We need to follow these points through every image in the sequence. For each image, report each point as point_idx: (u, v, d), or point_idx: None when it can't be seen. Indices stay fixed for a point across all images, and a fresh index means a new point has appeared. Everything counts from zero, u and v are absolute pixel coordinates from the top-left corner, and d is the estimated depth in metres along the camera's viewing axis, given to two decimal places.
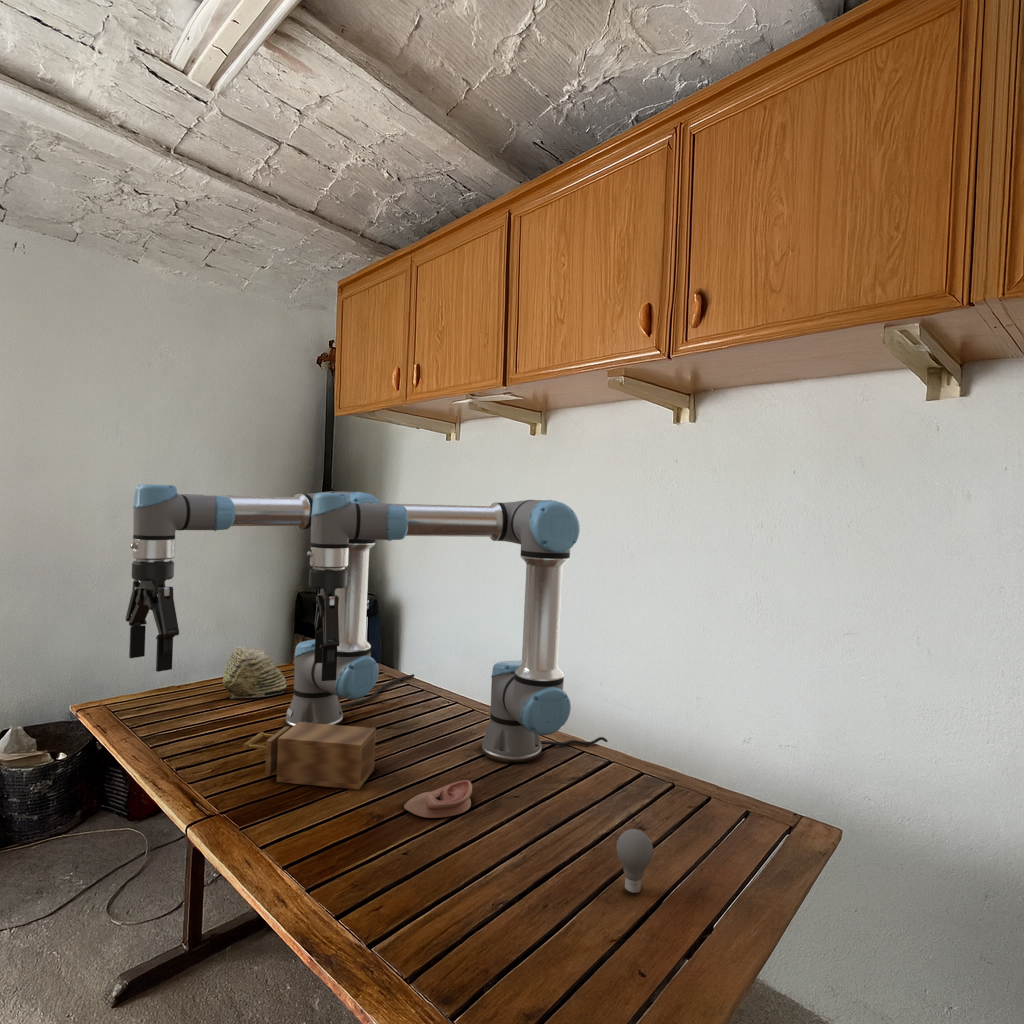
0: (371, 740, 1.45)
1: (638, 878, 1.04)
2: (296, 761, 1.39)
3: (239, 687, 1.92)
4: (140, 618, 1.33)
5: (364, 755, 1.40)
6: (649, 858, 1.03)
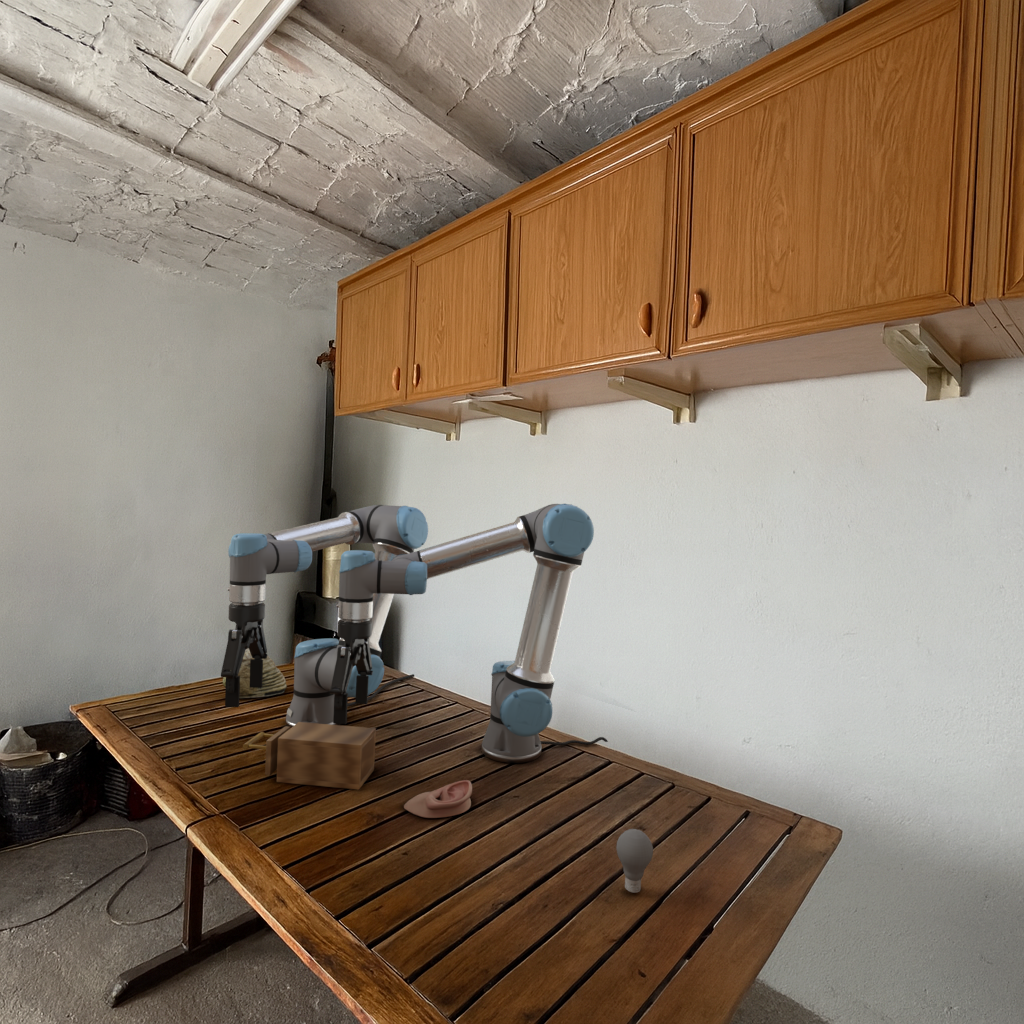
0: (371, 740, 1.45)
1: (638, 878, 1.04)
2: (296, 761, 1.39)
3: None
4: (256, 653, 1.48)
5: (364, 755, 1.40)
6: (649, 858, 1.03)
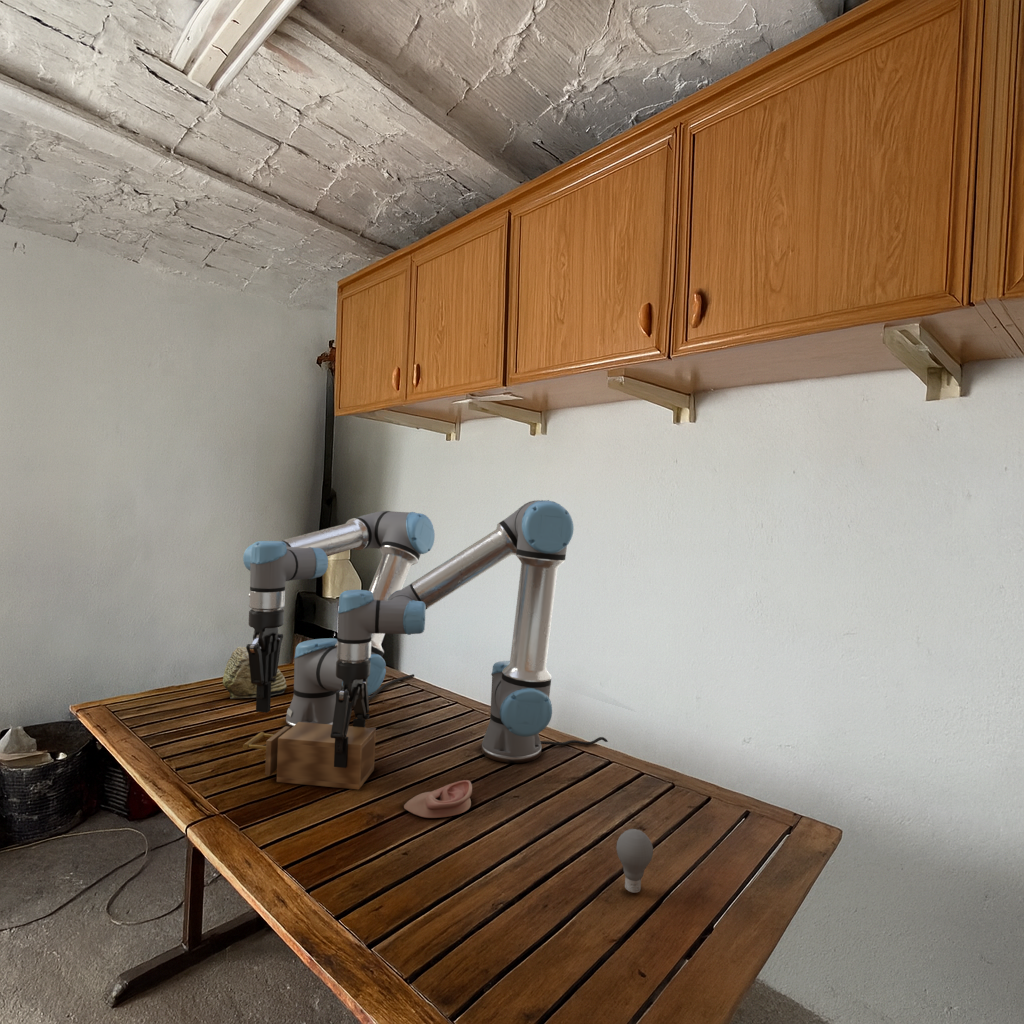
0: (371, 740, 1.45)
1: (638, 878, 1.04)
2: (296, 761, 1.39)
3: (239, 687, 1.92)
4: None
5: (364, 755, 1.40)
6: (649, 858, 1.03)
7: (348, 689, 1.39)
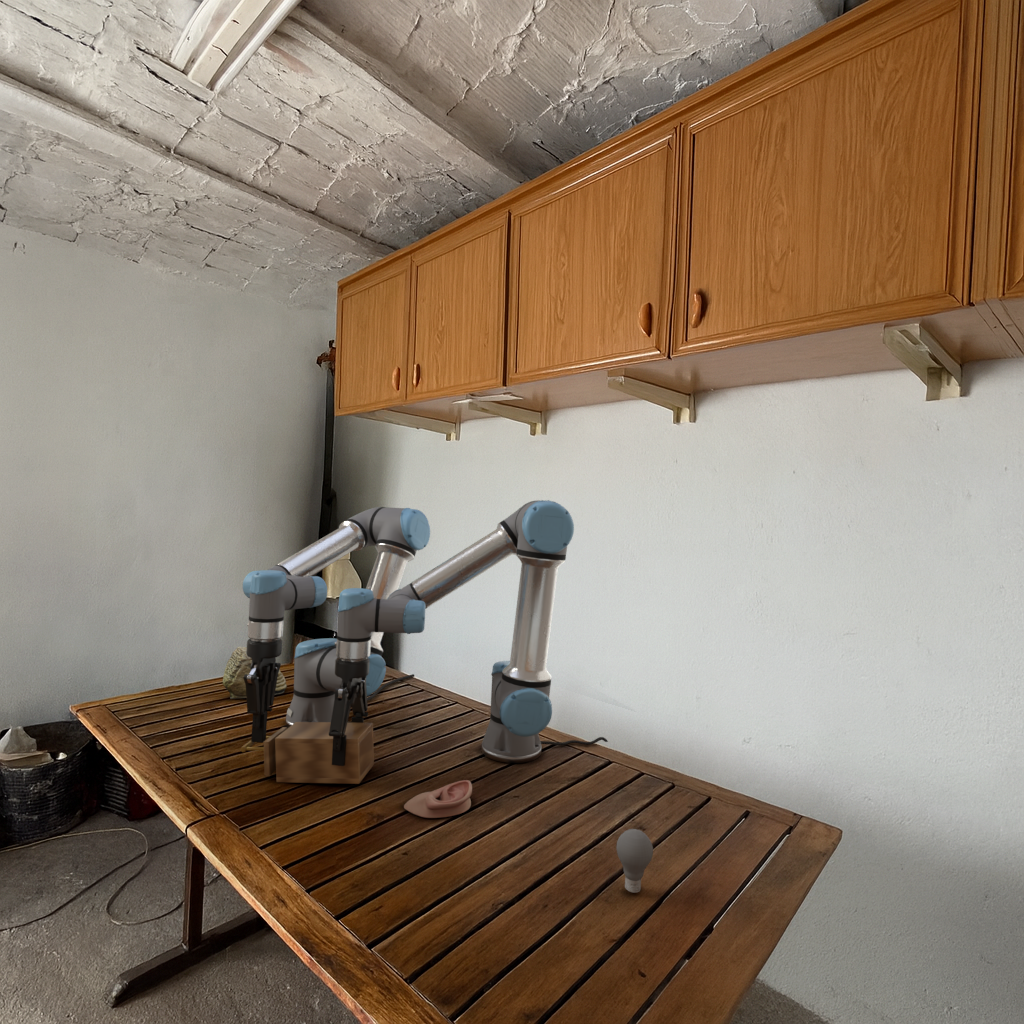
0: (369, 734, 1.45)
1: (638, 878, 1.04)
2: (295, 760, 1.39)
3: (239, 687, 1.92)
4: None
5: (362, 749, 1.40)
6: (649, 858, 1.03)
7: (347, 687, 1.39)
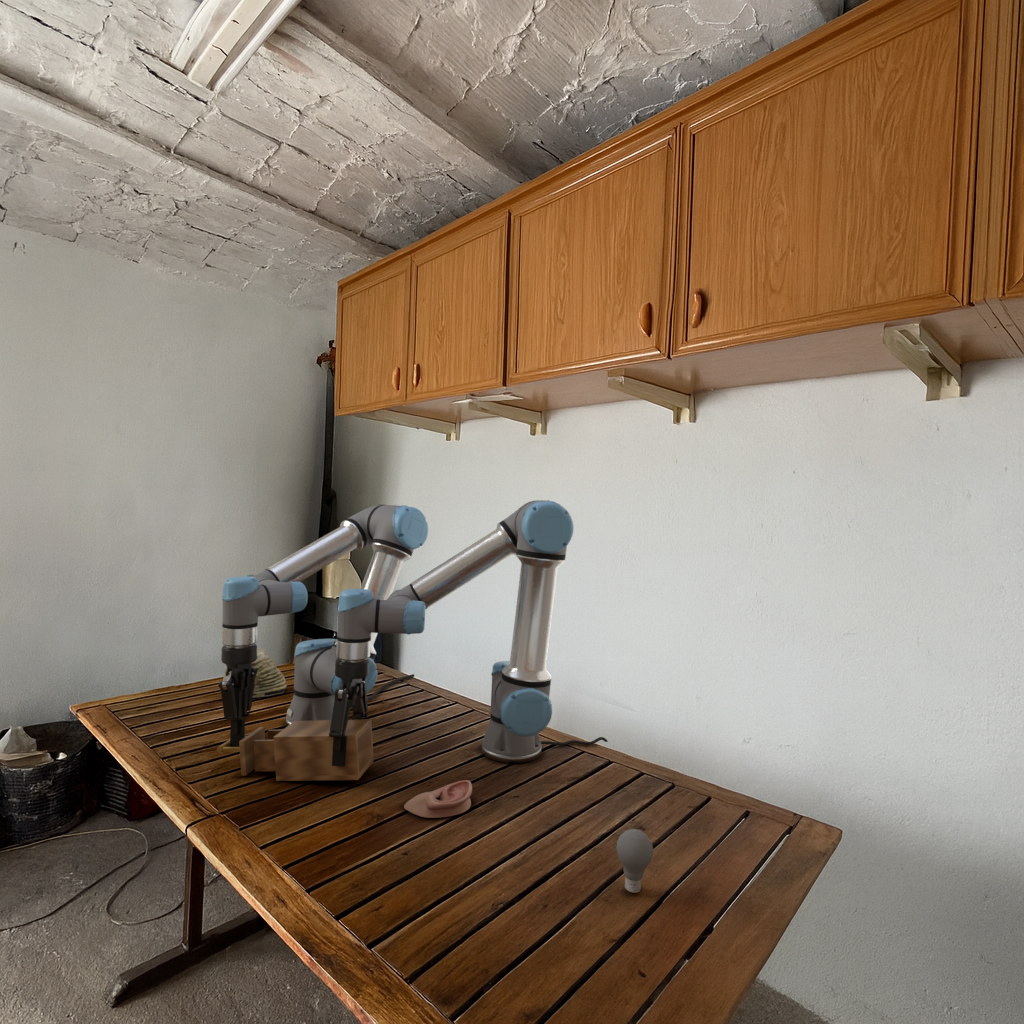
0: (367, 731, 1.45)
1: (638, 878, 1.04)
2: (293, 758, 1.39)
3: None
4: None
5: (360, 746, 1.40)
6: (649, 858, 1.03)
7: (347, 688, 1.39)
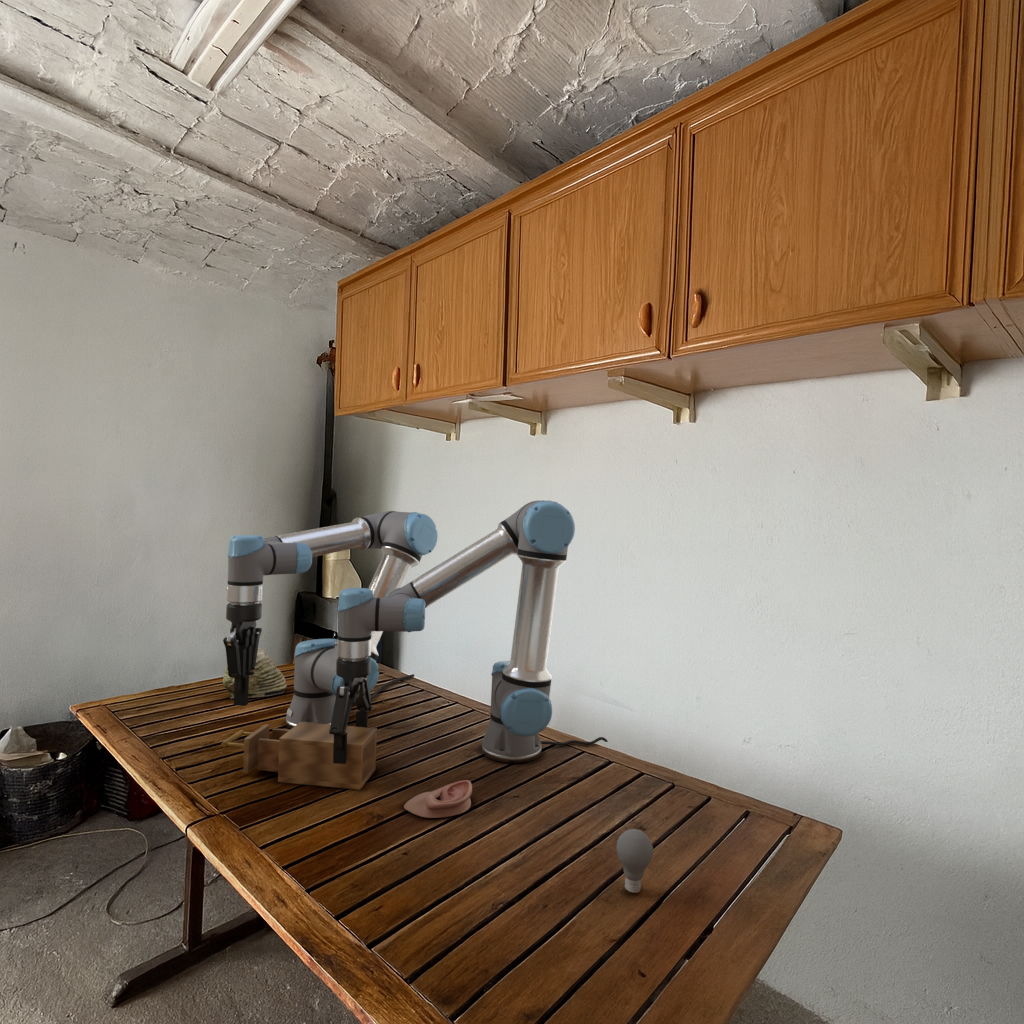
0: (372, 740, 1.45)
1: (638, 878, 1.04)
2: (297, 761, 1.39)
3: None
4: None
5: (365, 755, 1.40)
6: (649, 858, 1.03)
7: (348, 687, 1.39)
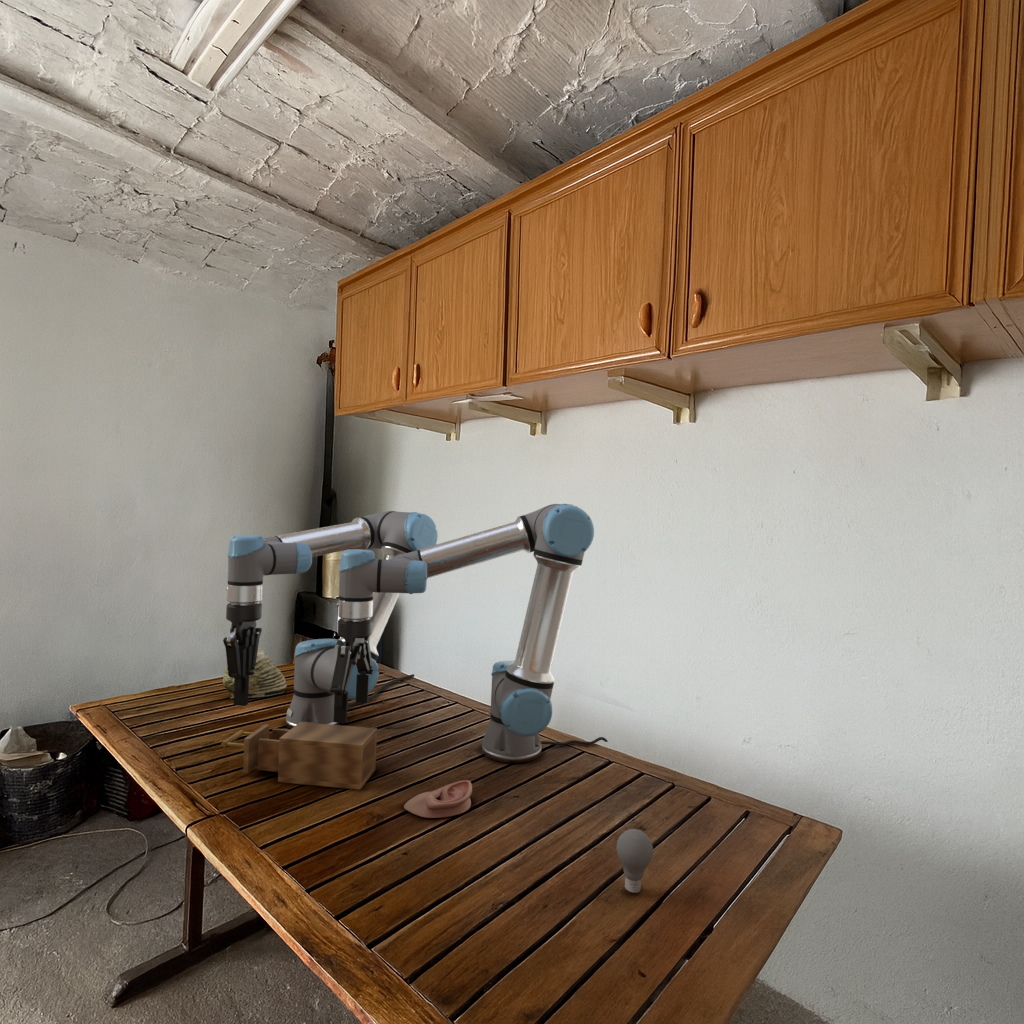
0: (372, 740, 1.45)
1: (638, 878, 1.04)
2: (297, 761, 1.39)
3: None
4: None
5: (365, 755, 1.40)
6: (649, 858, 1.03)
7: (350, 647, 1.38)
